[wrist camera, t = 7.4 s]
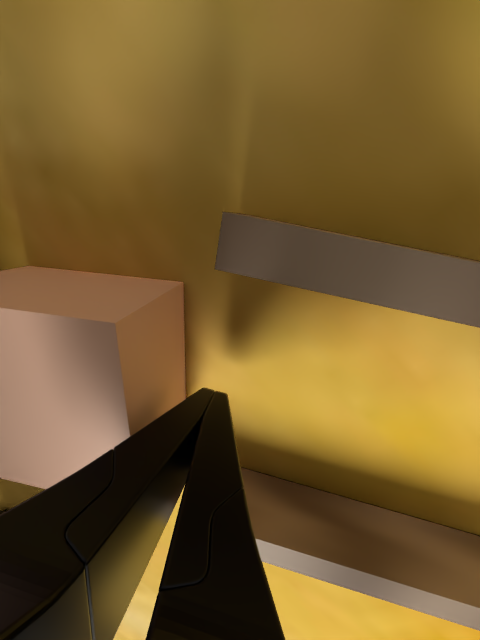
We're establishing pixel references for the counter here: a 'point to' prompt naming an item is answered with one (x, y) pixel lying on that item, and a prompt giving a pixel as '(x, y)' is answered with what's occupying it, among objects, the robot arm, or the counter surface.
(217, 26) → the counter surface
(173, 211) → the counter surface
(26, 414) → the block
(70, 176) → the counter surface
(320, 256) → the corridor rails
